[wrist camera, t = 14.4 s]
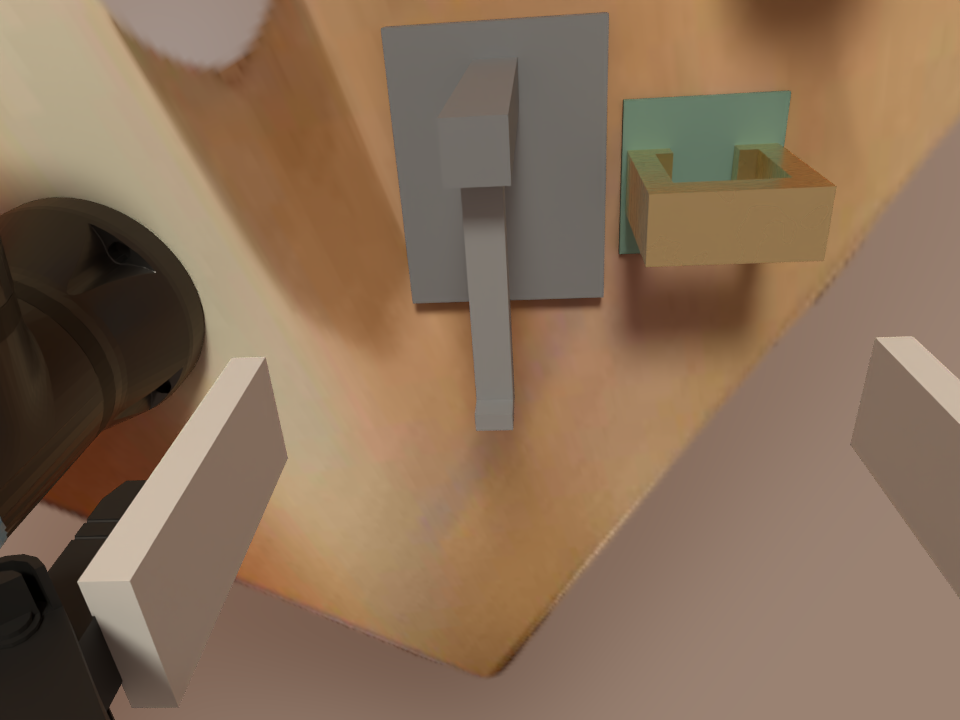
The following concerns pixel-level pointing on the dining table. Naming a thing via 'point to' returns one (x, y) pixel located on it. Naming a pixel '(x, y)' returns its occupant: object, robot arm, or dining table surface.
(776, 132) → the mat
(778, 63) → the dining table surface
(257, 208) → the dining table surface
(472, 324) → the stand
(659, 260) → the c link
